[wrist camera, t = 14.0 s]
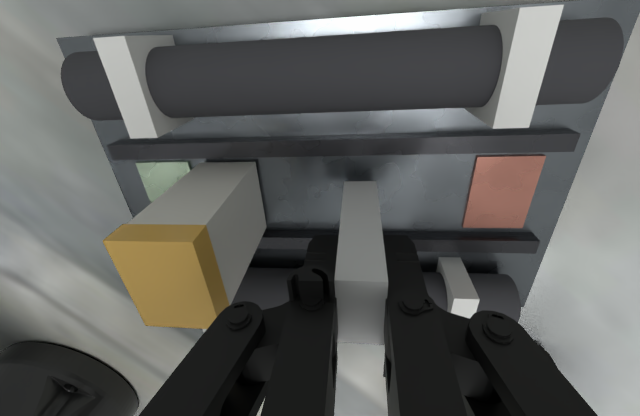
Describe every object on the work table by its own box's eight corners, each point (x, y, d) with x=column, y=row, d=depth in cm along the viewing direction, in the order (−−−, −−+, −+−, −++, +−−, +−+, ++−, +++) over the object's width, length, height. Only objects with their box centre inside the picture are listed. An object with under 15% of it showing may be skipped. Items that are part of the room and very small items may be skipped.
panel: (179, 274, 23) (159, 301, 21) (89, 37, 16) (40, 38, 13) (509, 283, 21) (530, 317, 18) (606, 0, 13) (665, -8, 10)
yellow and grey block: (216, 227, 18) (145, 325, 12) (199, 161, 16) (102, 240, 10) (267, 227, 18) (221, 329, 11) (256, 160, 15) (192, 242, 9)
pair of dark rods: (190, 292, 21) (166, 330, 19) (98, 40, 14) (32, 42, 11) (490, 303, 19) (513, 349, 16) (583, 6, 11) (656, -3, 9)
